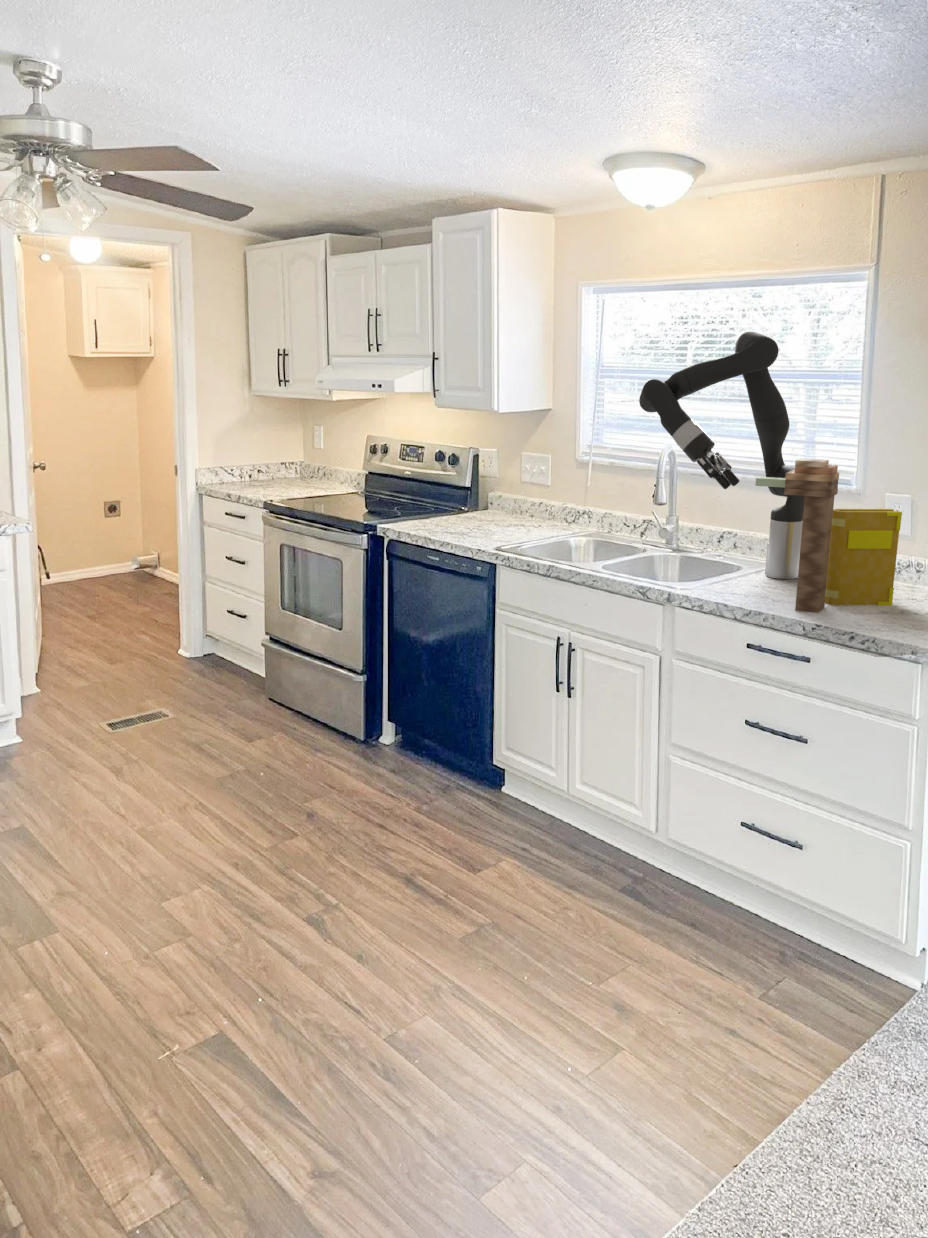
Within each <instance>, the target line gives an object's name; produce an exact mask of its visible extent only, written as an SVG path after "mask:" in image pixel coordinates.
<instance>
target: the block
mask: <svg viewBox="0 0 928 1238" xmlns="http://www.w3.org/2000/svg"><path fill="white" fill-rule="evenodd" d="M785 480H786V479H785V478H774V477H766V476H758V477H756V478H755V484H754V485H755V487H783V488H785Z"/></svg>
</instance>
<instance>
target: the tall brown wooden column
mask: <svg viewBox="0 0 928 1238" xmlns="http://www.w3.org/2000/svg"><path fill="white" fill-rule="evenodd" d="M829 462H830V461H829V459H816V458H814V459H813V458H798V459H796V460H795V461H794V466H795V470H792V471H789V472H787V473H786V475H785V479H786V480H785V489H784V495H797V496H805V499H804V511H803V523H802V535H801V547H800V558H799V570H798V578H797V584H796V595H795V596H796V597H795V598H796V599H795V607H794V610H795V611H798V612H806V613H814V614H816V613H817V614H820V613H821V612H822V611H823V609H825V606H826V605H825V604H826V603H825V594H826V583H827V572H828V561H829V550H830V539H831V528H832V517H833V509H834V505H835V502H834V501H835V496H836V495H838V494H839V493H838V491H839V489H838V486H839V479H840V472H838V467H839V465H838V464H829Z"/></svg>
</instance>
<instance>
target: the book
mask: <svg viewBox="0 0 928 1238" xmlns="http://www.w3.org/2000/svg"><path fill="white" fill-rule="evenodd" d="M902 515H903V512H902V511H900V510H899V511H898V510H895V509H894V508H833V517H832V528H831V539H830V550H829V561H828V572H827V583H826V594H825V604H826V605H832V606H880V607H881V606H882V607H884V606H887V607H888V606H889V607H890V606H893V597H894V589H895V588H894V582H895V574H896V564H897V563H896V562H897V555H898V544H899V537H900V536H899V535H900V531H901V525H902V523H901V522H902Z"/></svg>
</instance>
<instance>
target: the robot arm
mask: <svg viewBox="0 0 928 1238" xmlns="http://www.w3.org/2000/svg"><path fill="white" fill-rule="evenodd" d="M734 345H735V346H734V353H732V354H731V355H727V356H724V357H720V358H717V359H711V360H706V361H705V360H704V361H701V362H698V363H694V364H692V365H689V366H688V367H685V368H683V369H680V370H678V371H676V372H674V373H673V374H672V375H670V377H669V378H668V379H667V380H665V381H663V380H660V379H659V378H657V379H656V378H653V379H650V380H648V381H647V382H645V383H644V385H643V387H642V390H641V392H640V395H639V398H638V399H639V400H638V402H639V406H640V408H641V410H643V411H645V412H647V413H657V415H658V416H659V419H660V424H661V426H662V428H663V429H665V431H666V432H667V433H668V434H669V435H670V436H671V437H672V439H673V440H674V442H675V443H676V445H677V446H678V447H679V448H680V449H681V451H682V452H683V453H684V454H685V455H686V456H687V457H688V458H689V460H690V461H691V462H692V463H697V464H698V465H699V466H700V468H701V469H702V470H703V471H704V472H705V473H706V474H707V476H708V478H710V479H713V480H715V481H717V483H718V484H719V485H720V487H722V489H724V490H727V489H728V488H729V487H731V486H732V487H735V486H736V485H738V484H739V483H740V479H739V478H738V477H737V476H736V475H735V473H734V472H733V471H732V466H731V464H729V463H728V461H727V460H726V459H725V458H724V457H723V455H721V454H720V452H719V451H716V452H715V453H714V452H713V451H712V449H713V448H714V447H715V441H714V440H713V439H712V438H711V437H710V436H709V435H708V434H707V433H706V432H705V431H704V430H703V428H702V427H701V426H700V425H699V424H698V423H697V422H696V421H694V419H693V418H692V417H691V416H690V415H689V414H688V413H687V412H686V410H684V409H683V407H682V406H681V404H680V403H679V400H680V399H683V398H685V397H686V396H689V395H692V394H694V393H696V392H698V391H701V390H704V389H706V388H708V387H711V386H712V385H716V384H718V383H721V382H724V381H726V380H729V379H732V378H736V377H738V376H742V377H743V380H744V383H745V387H746V391H747V396H748V400H749V404H750V408H751V412H752V416H753V422H754V424H755V425H754V426H755V429H756V432H757V435H758V438H759V444H760V447H761V453H762V458H763V464H764V465H763V466H764V471H765V477H774V478H785V475H786V473H787V472H789V471H792V470H795V465H789V464H786V463H785V461H784V459H783V458H784V457H783V453H782V447H783V445H784V442H785V440H786V438H787V436H788V433H789V429H790V418H789V414H788V409H787V406H786V403H785V401H784V399H783V396H782V395H781V393H780V391H779V389H778V387H777V386H776V384H775V382H774V381H773V379H772V377H771V374H770V371H769V367H771V366H772V365H773V364H774V363H775V361H776V360H777V358H778V356H779V347H778V343H777V342H776V341H775V340H774V339H773V338H772V337H769V336H767V335H765V334H762V333H760V332H758V331H757V332H756V331H745V332H743V333H741V335H740V336H739V337H738V338H737V340H736V343H735V344H734ZM784 489H785V488H783V487H768V490H769V492H770V493H771V494H772V495H773V496H777V497H786V501H785V504H783V505H782V506H780V507H776V508H773V509H771V512H770V523H769V536H768V537H769V538H768V543H767V544H766V555H765V558H766V559H765V572H764V574H765V575H766V577H769V578H772V579H778V580H793V579H794V580H795V579H798V570H799V558H800V547H801V535H802V523H803V511H804V499H805V496H797V495H784Z"/></svg>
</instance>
